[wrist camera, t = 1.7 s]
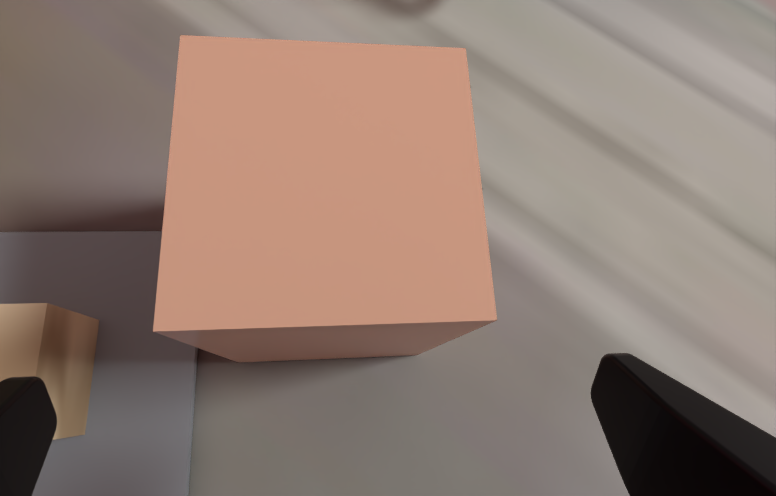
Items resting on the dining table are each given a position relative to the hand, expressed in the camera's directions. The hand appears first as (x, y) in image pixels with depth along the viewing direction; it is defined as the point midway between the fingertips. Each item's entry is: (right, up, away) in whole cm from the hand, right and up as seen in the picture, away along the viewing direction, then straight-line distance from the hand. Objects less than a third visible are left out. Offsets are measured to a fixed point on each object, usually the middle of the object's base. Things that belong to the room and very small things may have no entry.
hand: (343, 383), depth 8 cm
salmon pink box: (-2, +1, +12) cm, 12 cm away
